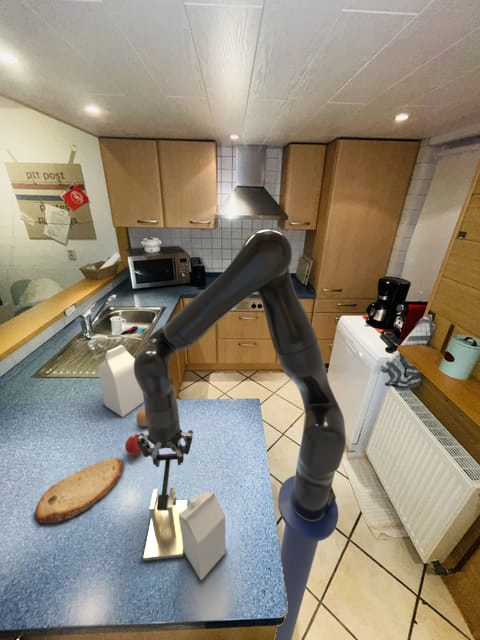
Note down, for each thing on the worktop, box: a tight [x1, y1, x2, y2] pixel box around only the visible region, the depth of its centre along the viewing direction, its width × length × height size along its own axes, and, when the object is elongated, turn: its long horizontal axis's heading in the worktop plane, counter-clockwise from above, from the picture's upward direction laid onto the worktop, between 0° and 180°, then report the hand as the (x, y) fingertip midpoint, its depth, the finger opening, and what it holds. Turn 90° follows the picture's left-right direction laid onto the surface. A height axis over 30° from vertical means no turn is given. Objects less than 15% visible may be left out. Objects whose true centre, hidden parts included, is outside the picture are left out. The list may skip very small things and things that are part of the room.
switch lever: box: [157, 452, 177, 511], centre depth 63 cm, size 12×5×2 cm, turn 5°
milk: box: [97, 344, 144, 418], centre depth 99 cm, size 12×12×26 cm
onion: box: [124, 434, 142, 456], centre depth 82 cm, size 6×6×8 cm
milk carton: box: [179, 491, 226, 581], centre depth 56 cm, size 7×7×19 cm
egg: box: [136, 408, 147, 427], centre depth 93 cm, size 5×5×7 cm
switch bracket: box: [142, 487, 189, 562], centre depth 61 cm, size 12×9×13 cm
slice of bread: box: [35, 458, 123, 524], centre depth 72 cm, size 18×18×4 cm
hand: (169, 462), depth 67 cm, fingers closed on switch lever, 5 cm apart
